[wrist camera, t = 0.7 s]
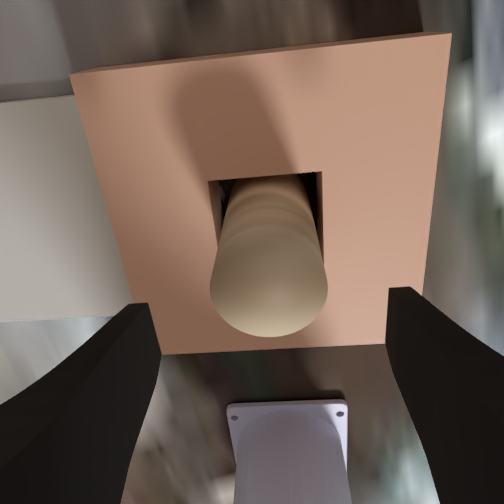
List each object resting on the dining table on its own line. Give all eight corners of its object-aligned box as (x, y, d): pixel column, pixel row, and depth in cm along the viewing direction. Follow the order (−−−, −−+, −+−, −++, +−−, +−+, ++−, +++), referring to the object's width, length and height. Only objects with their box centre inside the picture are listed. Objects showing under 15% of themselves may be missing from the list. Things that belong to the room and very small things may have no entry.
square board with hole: (400, 306, 24) (416, 341, 21) (161, 320, 25) (148, 355, 22) (424, 31, 17) (452, 32, 15) (97, 67, 18) (68, 74, 16)
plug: (309, 234, 22) (328, 334, 15) (234, 240, 22) (218, 339, 15) (306, 160, 20) (326, 234, 13) (224, 167, 20) (201, 242, 13)
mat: (141, 308, 25) (138, 314, 24) (-49, 319, 26) (-56, 325, 25) (82, 93, 19) (76, 95, 18) (-160, 118, 20) (-172, 121, 19)
